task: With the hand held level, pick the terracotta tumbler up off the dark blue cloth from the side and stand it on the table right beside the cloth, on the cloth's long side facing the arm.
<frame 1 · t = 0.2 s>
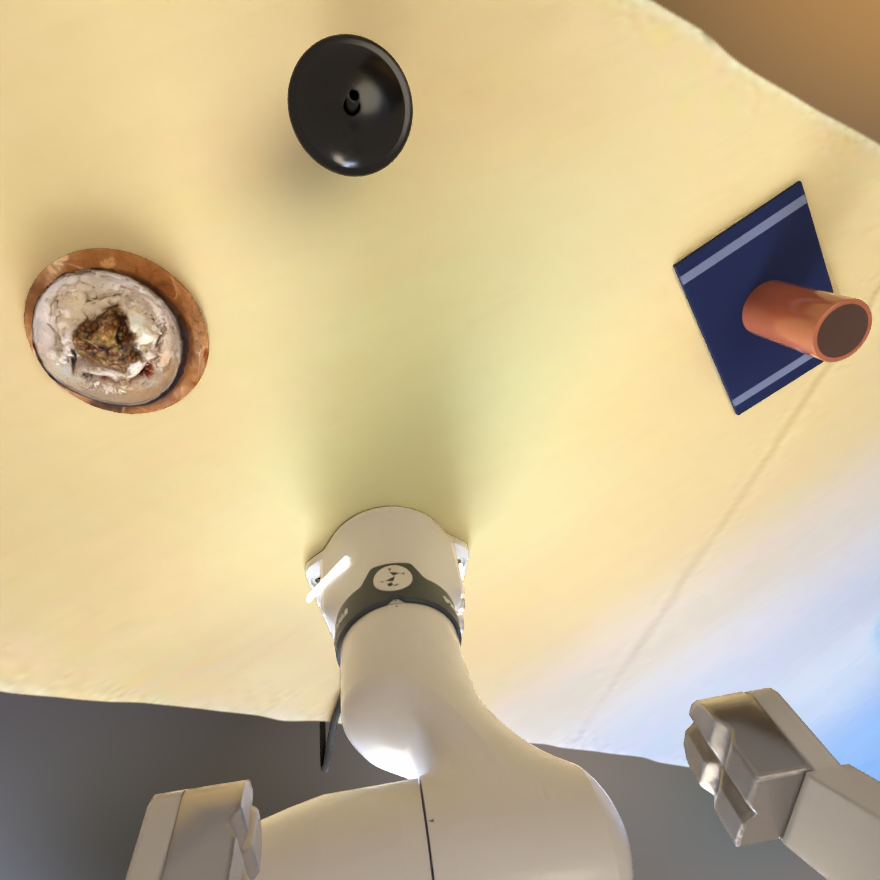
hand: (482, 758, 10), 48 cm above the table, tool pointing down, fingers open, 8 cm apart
tumbler: (767, 308, 60), resting on cloth
round cake: (121, 335, 52), on the table
drinking cup: (348, 126, 48), on the table
cloth: (764, 307, 61), on the table
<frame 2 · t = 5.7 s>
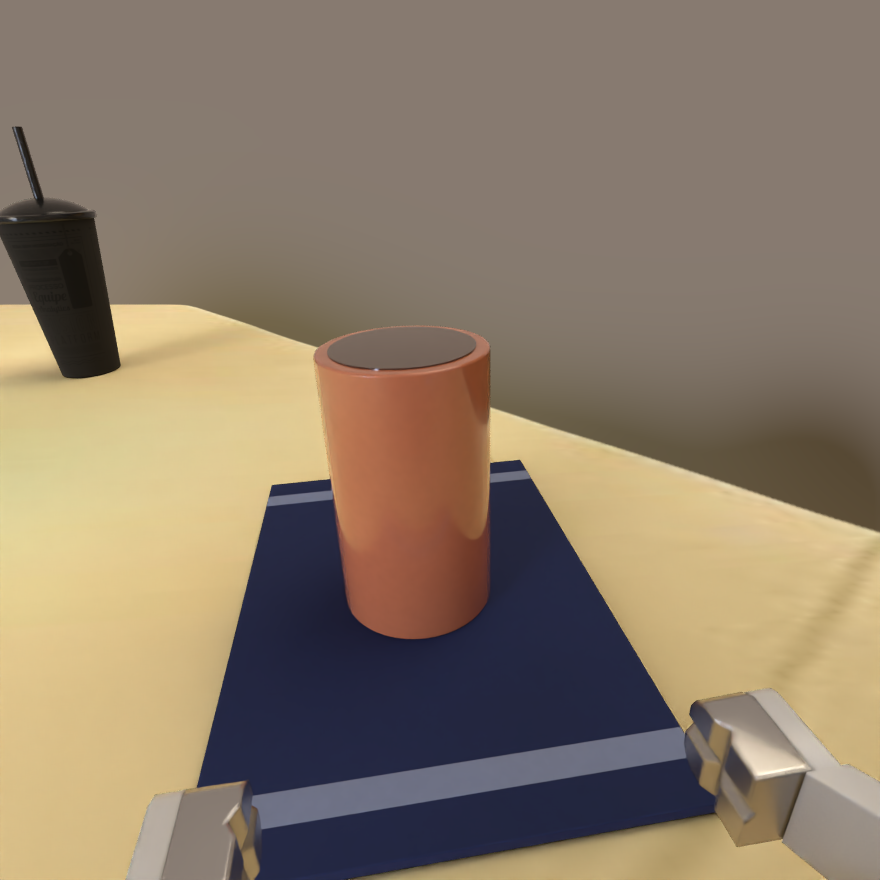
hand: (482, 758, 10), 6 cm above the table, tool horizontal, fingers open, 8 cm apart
tumbler: (418, 587, 23), resting on cloth
drinking cup: (93, 371, 54), on the table
cloth: (419, 595, 23), on the table
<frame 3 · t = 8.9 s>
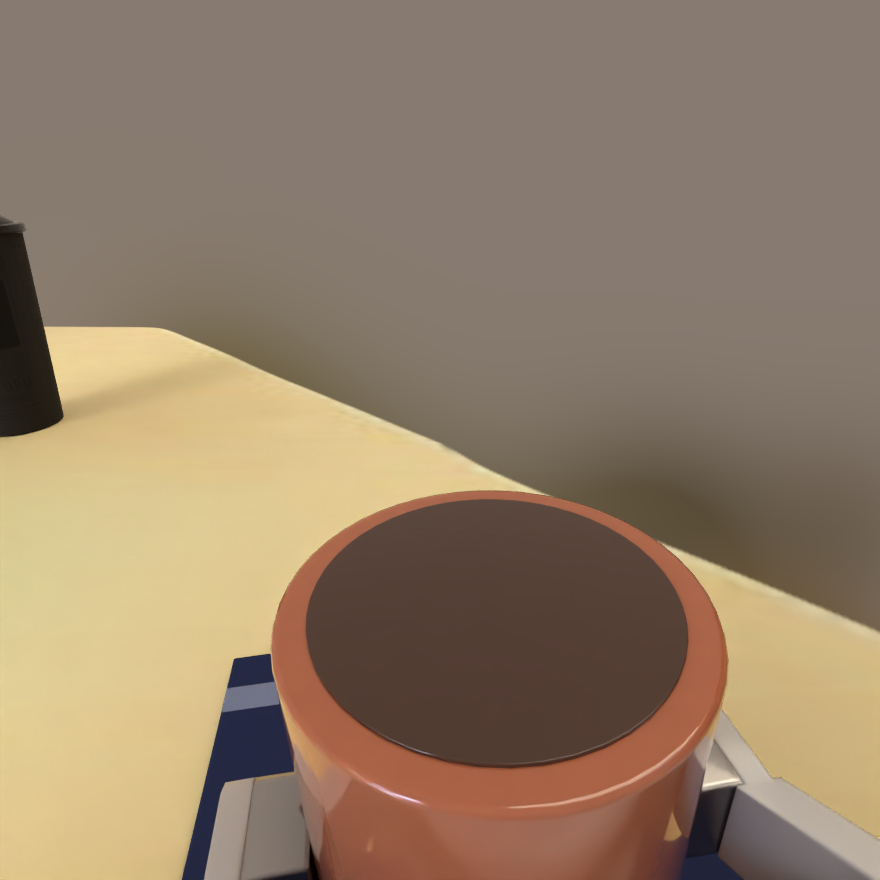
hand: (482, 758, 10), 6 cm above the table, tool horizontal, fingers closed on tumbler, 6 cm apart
drinking cup: (27, 425, 42), on the table
when the fingers open (6 cm above the table, at t = 16.4 s): tumbler stays where it is, on the table.
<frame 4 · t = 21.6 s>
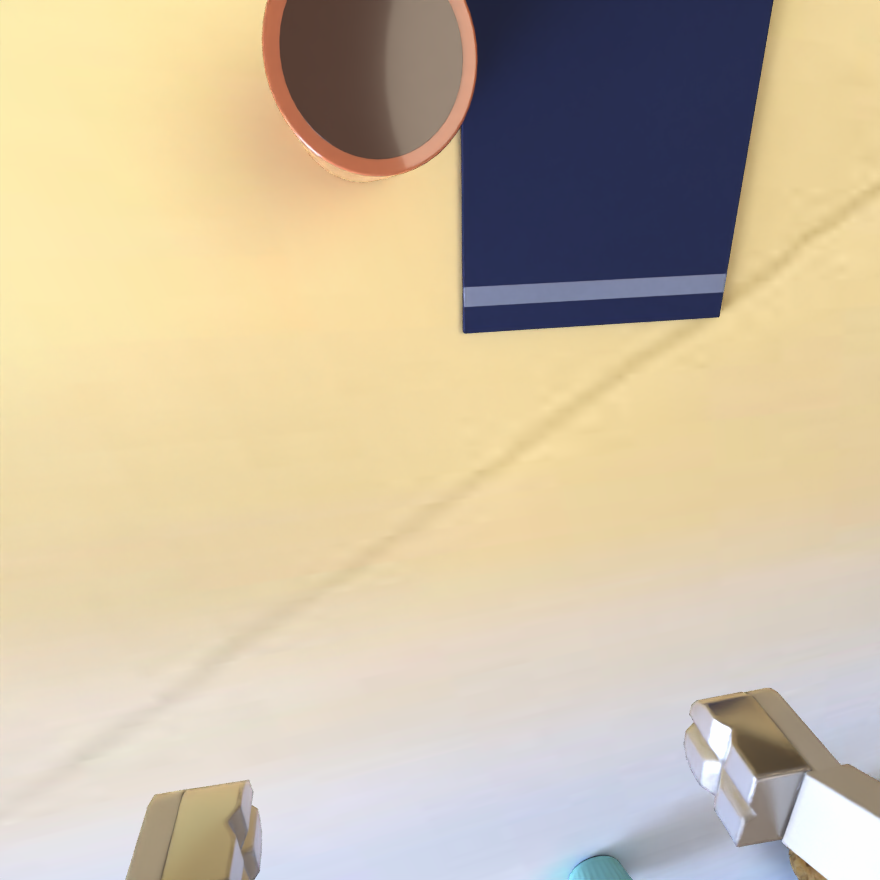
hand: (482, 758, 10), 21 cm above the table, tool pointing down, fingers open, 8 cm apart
tumbler: (359, 108, 24), on the table
sponge: (862, 830, 55), on the table
cloth: (611, 104, 26), on the table
cupcake: (594, 870, 50), on the table
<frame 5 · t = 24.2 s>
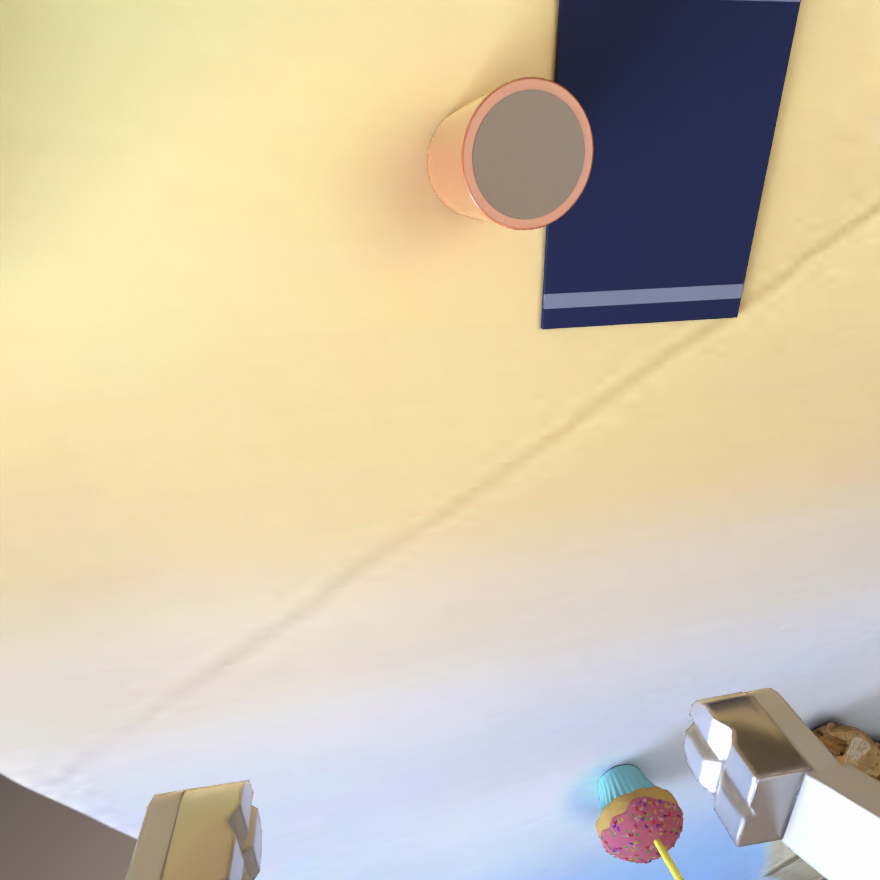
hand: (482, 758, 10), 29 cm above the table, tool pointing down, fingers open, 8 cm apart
tumbler: (476, 162, 33), on the table
sponge: (844, 752, 65), on the table
cloth: (660, 157, 35), on the table
cupcake: (619, 778, 60), on the table
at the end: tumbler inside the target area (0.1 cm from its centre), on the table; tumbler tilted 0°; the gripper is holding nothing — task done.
